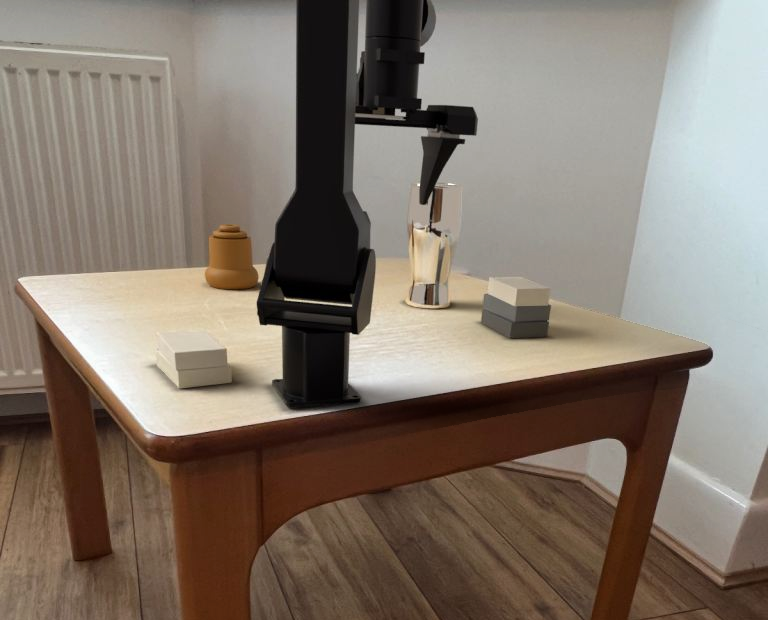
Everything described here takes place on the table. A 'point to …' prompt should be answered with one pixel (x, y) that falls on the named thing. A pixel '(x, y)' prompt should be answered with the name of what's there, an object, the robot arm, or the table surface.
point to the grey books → (515, 318)
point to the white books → (192, 358)
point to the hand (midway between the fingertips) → (385, 204)
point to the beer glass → (432, 244)
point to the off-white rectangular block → (518, 291)
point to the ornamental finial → (230, 259)
